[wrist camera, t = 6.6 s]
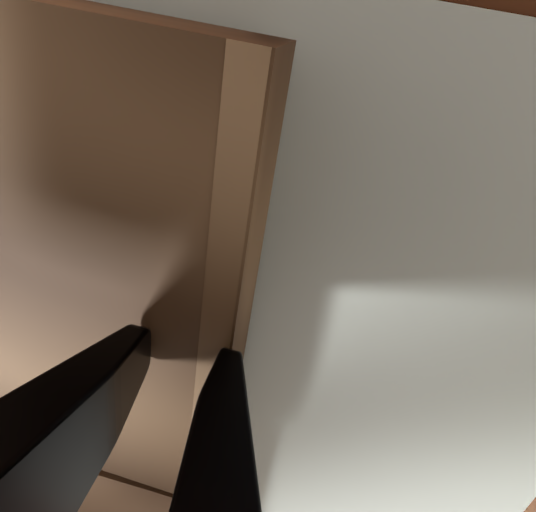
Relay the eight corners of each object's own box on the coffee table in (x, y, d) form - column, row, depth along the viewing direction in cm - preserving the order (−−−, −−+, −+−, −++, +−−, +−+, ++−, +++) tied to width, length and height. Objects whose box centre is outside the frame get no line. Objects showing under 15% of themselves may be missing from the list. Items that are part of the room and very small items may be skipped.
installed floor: (401, 639, 19) (407, 707, 17) (-101, 514, 20) (-146, 566, 18) (841, 71, 7) (1013, 98, 5) (-453, -155, 8) (-680, -199, 6)
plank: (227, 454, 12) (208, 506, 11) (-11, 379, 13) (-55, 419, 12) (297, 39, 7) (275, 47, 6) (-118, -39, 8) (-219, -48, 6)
